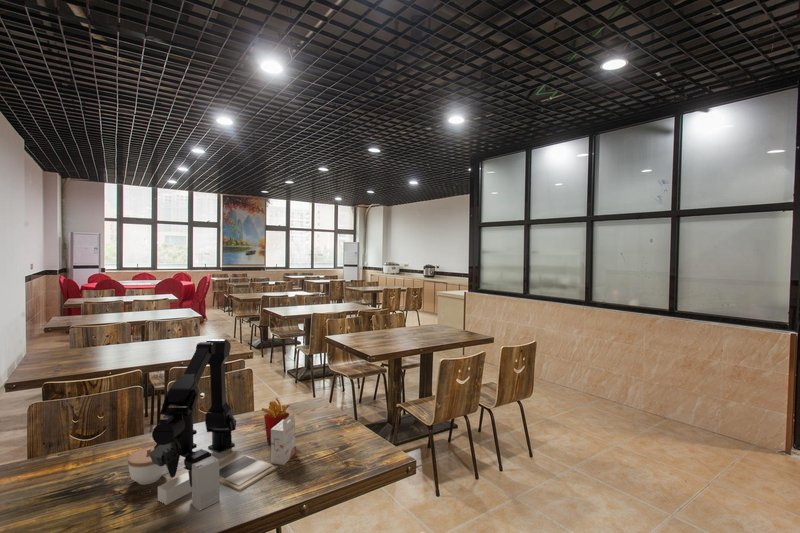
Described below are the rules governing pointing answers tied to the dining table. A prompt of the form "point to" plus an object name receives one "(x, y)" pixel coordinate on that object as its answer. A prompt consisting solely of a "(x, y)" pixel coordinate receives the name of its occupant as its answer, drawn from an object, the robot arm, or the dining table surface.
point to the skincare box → (205, 483)
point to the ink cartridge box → (283, 441)
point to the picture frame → (242, 470)
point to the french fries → (274, 416)
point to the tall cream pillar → (174, 489)
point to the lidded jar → (144, 467)
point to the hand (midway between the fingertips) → (182, 481)
